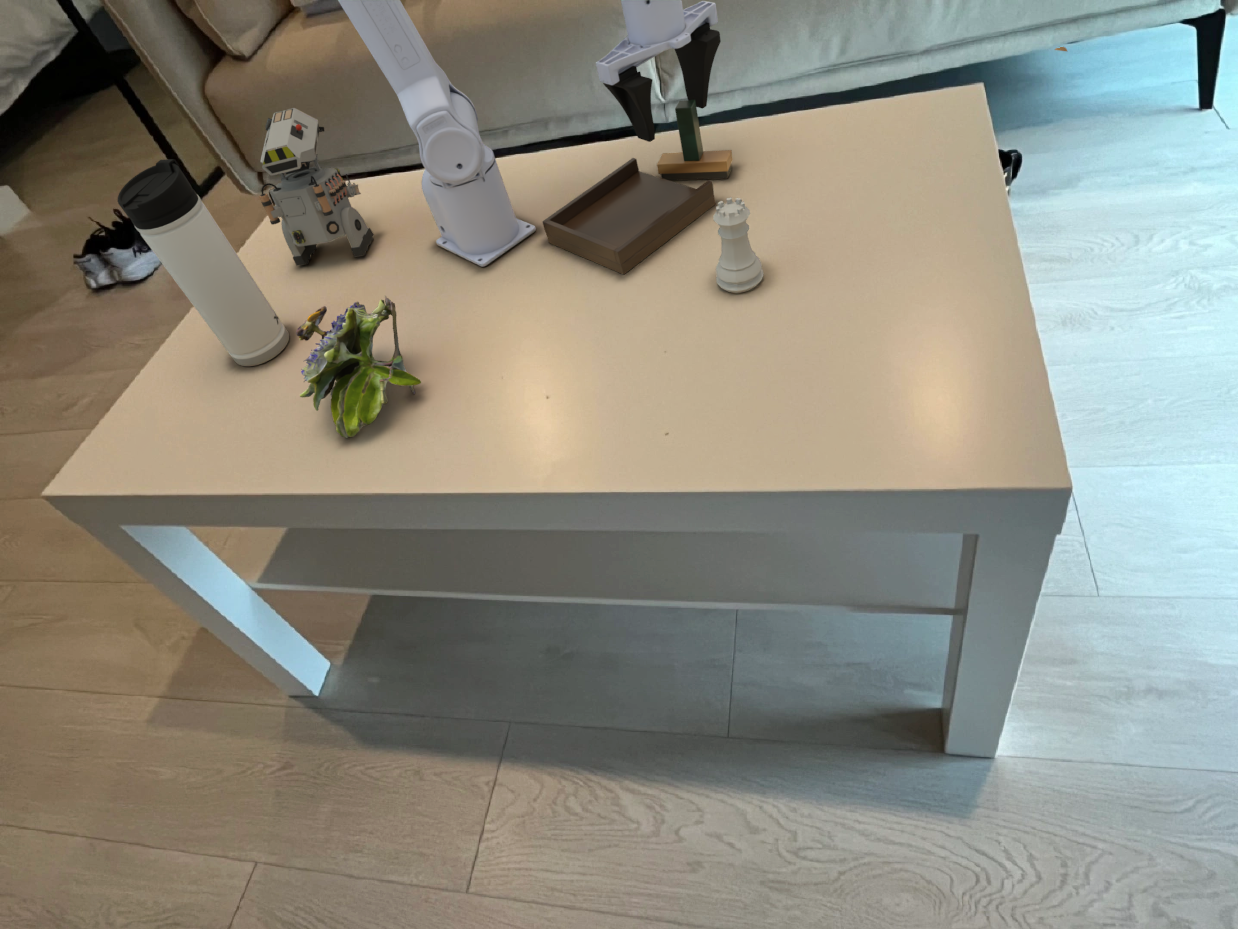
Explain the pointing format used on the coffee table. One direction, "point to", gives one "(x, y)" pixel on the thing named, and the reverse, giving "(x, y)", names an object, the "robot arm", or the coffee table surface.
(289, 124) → the figurine
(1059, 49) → the cork ball
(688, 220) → the tray
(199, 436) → the coffee table surface
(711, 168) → the brush
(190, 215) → the travel mug
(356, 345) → the passion flower
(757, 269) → the rook chess piece
